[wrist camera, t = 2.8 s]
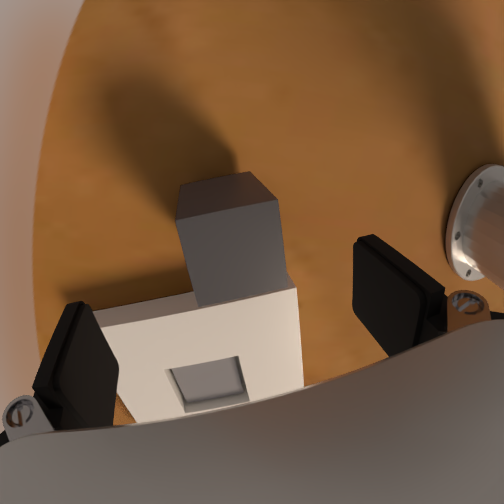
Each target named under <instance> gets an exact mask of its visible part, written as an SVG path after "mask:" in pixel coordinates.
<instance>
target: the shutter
mask: <svg viewBox="0 0 504 504" xmlns="http://www.w3.org/2000/svg"><path fill="white" fill-rule="evenodd" d="M172 371H173V373H174V376H175V378H176V380H177V382H178V384H179V387H180V389H181V391H182V393H183V395H184V397H185V399H186V401H187V403H192V402H198V401H204V400H209V399H215V398H220V397H225V396H230V395H235V394H240V393H244V391H243V387H242V383H241V380H240V376H239V372H238V368H237V365H236V361H235V357H230V358H225V359H220V360H215V361H210V362H205V363H200V364H194V365H189V366H183V367H177V368H172Z"/></svg>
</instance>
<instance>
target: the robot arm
mask: <svg viewBox="0 0 504 504" xmlns="http://www.w3.org/2000/svg"><path fill="white" fill-rule="evenodd" d="M446 254H447V259H448V262H449V265H450V267H451V268H452V270H453V271H454V272H455V273H456V274H457V275H459V276H460V277H461V278H463V279H464V280H469V281H474V280H479V279H481V278H484V277H487V278H488V279H489V280H491V281H492V282H493V283H495V284H496V285H497V286H499V287H500V288H501V289H503V290H504V167H503V166H501V165H497V164H486V165H484V166H481V167H480V168H478V169H477V170H476V171H474V172H473V173H472V174H471V175H470V176H469V178H468V179H467V180H466V181H465V183H464V184H463V186H462V187H461V189H460V191H459V193H458V195H457V197H456V199H455V201H454V204H453V206H452V209H451V212H450V216H449V220H448V224H447V231H446ZM444 292H445V287H443V286H442V285H441V284H440V283H438V282H437V281H436V280H435V279H433V278H432V277H431V276H430V275H428V274H427V273H426V272H424V271H423V270H422V269H420V268H419V267H418V266H417V265H415V264H414V263H413V262H411V261H410V260H409V259H407V258H406V257H405V256H403V255H402V254H401V253H399V252H398V251H397V250H395V249H394V248H392V247H391V246H390V245H388V244H387V243H386V242H384V241H383V240H381V239H380V238H379V237H377V236H376V235H374V234H371V235H367V236H363V237H359V238H358V239H357V242H355V243H354V245H353V299H352V307H353V311H354V313H355V315H356V316H357V317H358V318H359V319H360V321H361V322H362V323H363V324H364V326H365V327H366V328H367V329H368V331H369V332H370V333H371V334H372V336H373V337H374V338H375V340H376V341H377V342H378V343H379V345H380V346H381V347H382V348H383V350H384V351H385V352H386V353H387V355H388V356H389V357H388V358H386V359H383V360H381V361H378V362H376V363H373V364H370V365H368V366H365V367H362V368H360V369H357V370H354V371H351V372H348V373H346V374H343V375H340V376H337V377H334V378H331V379H328V380H325V381H322V382H319V383H315V384H312V385H309V386H306V387H303V388H299V389H296V390H293V391H289V392H286V393H282V394H278V395H275V396H271V397H267V398H264V399H260V400H256V401H252V402H248V403H244V404H239V405H235V406H231V407H226V408H222V409H217V410H212V411H207V412H202V413H197V414H192V415H186V416H181V417H175V418H169V419H162V420H156V421H148V422H141V423H133V424H124V425H115V426H113V418H114V409H115V400H116V392H117V384H118V377H119V364H118V361H117V359H116V357H115V356H114V354H113V352H112V350H111V348H110V346H109V344H108V342H107V340H106V338H105V336H104V334H103V332H102V330H101V328H100V326H99V324H98V322H97V320H96V318H95V316H94V314H93V311H92V309H91V307H90V306H89V305H88V304H85V303H84V302H83V301H79V302H74V303H70V304H67V305H66V307H65V309H64V311H63V313H62V315H61V317H60V320H59V322H58V324H57V326H56V329H55V331H54V333H53V335H52V338H51V340H50V342H49V345H48V347H47V349H46V352H45V354H44V357H43V359H42V362H41V364H40V367H39V369H38V372H37V375H36V377H35V380H34V383H33V386H32V388H33V390H34V391H35V393H34V396H33V397H32V396H29V395H23V396H20V397H18V398H16V399H14V400H13V401H12V402H10V403H9V405H8V406H7V407H6V409H5V411H4V413H3V418H2V420H3V426H4V428H5V430H4V431H3V432H2V433H1V434H0V504H504V313H499V312H492V311H490V310H489V305H488V303H487V301H486V299H485V298H484V297H483V296H481V295H480V294H478V293H476V292H473V291H469V290H458V291H455V292H453V293H451V294H450V295H449V296H448V297H447V296H446V295H445V294H444Z"/></svg>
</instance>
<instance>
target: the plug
mask: <svg viewBox="0 0 504 504" xmlns="http://www.w3.org/2000/svg"><path fill="white" fill-rule="evenodd" d="M175 222H176V226H177V230H178V234H179V238H180V242H181V246H182V250H183V253H184V257H185V261H186V265H187V269H188V272H189V276H190V280H191V283H192V287H193V290H194V294H195V297H196V301H197V304H198V307H202V306H206V305H211V304H216V303H221V302H225V301H230V300H235V299H239V298H244V297H248V296H253V295H257V294H261V293H266V292H270V291H275V290H279V289H283V288H287V287H288V281H287V272H286V263H285V254H284V245H283V237H282V228H281V220H280V212H279V204H278V199H277V198H276V197H275V196H274V195H273V194H272V193H271V192H270V191H269V190H268V189H267V188H266V187H265V186H264V185H263V184H262V183H261V182H260V181H259V180H258V179H257V178H256V177H255V176H254V175H253V174H252V173H251V172H250V171H248V172H243V173H238V174H232V175H227V176H222V177H217V178H212V179H207V180H202V181H197V182H193V183H188V184H184V185H181V186H180V192H179V199H178V205H177V212H176V218H175Z"/></svg>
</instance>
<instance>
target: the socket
mask: <svg viewBox="0 0 504 504" xmlns="http://www.w3.org/2000/svg"><path fill="white" fill-rule="evenodd" d="M286 272H287V271H286ZM287 281H288V287H287V288H283V289H279V290H275V291H270V292H266V293H261V294H257V295H253V296H248V297H244V298H239V299H235V300H230V301H225V302H221V303H216V304H211V305H206V306H202V307H198V304H197V301H196V297H195V294H194V292H189V293H184V294H179V295H174V296H169V297H164V298H159V299H154V300H149V301H144V302H139V303H134V304H129V305H124V306H119V307H114V308H108V309H103V310H98V311H93V314H94V316H95V318H96V320H97V322H98V324H99V326H100V328H101V330H102V332H103V334H104V336H105V338H106V340H107V342H108V344H109V346H110V348H111V350H112V352H113V354H114V356H115V357H116V359H117V361H118V364H119V377H118V384H117V393H118V395H119V396H120V398H121V399H122V401H123V403H124V404H125V406H126V407H127V409H128V410H129V412H130V413H131V414H132V416H133V417H134V419H135V420H136V422H137V423H141V422H148V421H156V420H162V419H169V418H175V417H181V416H186V415H192V414H197V413H202V412H207V411H212V410H217V409H222V408H226V407H231V406H235V405H239V404H244V403H248V402H252V401H256V400H260V399H264V398H267V397H271V396H275V395H278V394H282V393H286V392H289V391H293V390H296V389H299V388H303V387H304V382H303V366H302V351H301V338H300V325H299V313H298V301H297V289H296V286H295V284H294V283H293V281H292V279H291V278H290V276H289V274H288V273H287ZM230 357H235V361H236V365H237V368H238V372H239V376H240V380H241V383H242V387H243V391H244V393H240V394H235V395H230V396H225V397H220V398H215V399H209V400H204V401H198V402H192V403H187V401H186V399H185V397H184V395H183V393H182V391H181V389H180V387H179V384H178V382H177V380H176V378H175V376H174V373H173V371H172V368H177V367H183V366H189V365H194V364H200V363H205V362H210V361H215V360H220V359H225V358H230Z"/></svg>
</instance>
